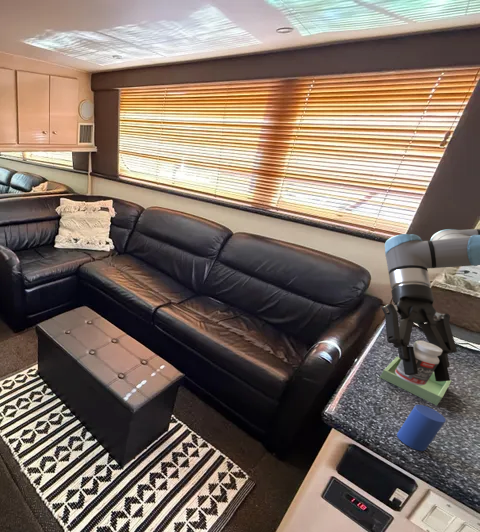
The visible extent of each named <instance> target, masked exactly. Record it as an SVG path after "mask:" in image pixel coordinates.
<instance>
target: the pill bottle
mask: <svg viewBox="0 0 480 532" xmlns="http://www.w3.org/2000/svg"><path fill="white" fill-rule="evenodd" d="M412 347H413V348H414V354H415V360H416V365H417V371H418V374H414V375H405V372H404V366H403V360H401V362H400V363H399V365H398V367H397V368H396V370H395V373H396V374H397V376H399V377H400V378H401V379H403V380H405V381H407V382H409V383H412V384H415V385H420V386H422V385H425V384H426V383H427V381H428V380H429V378H430V376H431V375H432V373H433V372H434V370H435V368H436V367H437V365H438V364H439V358H438V357H437V356H440V355H441V353H442V351H443V350H442V349H441V348H439V347H438V346H436V345H434V344H431V343H429V342H428V341H425V340H415V342H414V343H413V346H412Z"/></svg>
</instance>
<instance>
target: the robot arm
mask: <svg viewBox="0 0 480 532" xmlns="http://www.w3.org/2000/svg"><path fill="white" fill-rule="evenodd" d="M384 254H385V260H386V266H387V271H388V279H389V284H390V288H391V292H390V293H391V297H392V302H393V304H392V303H389V304H386V305H384V306H382V307H381V309H382V312H383V314H384V319H385V321H384V322H385V332H386V341H387V343H389V344H392V346H393V348H396V349H397V352H398V353H397V354H398V357H399V358H400V359H401V360H403V366H404V372H405V375H414V374H418V371H417V365H416V360H415V354H414V348H413V347H414V346H411V345H410V340H411V336H412V333H413V332H412V331H413V325H414V323H415V324H417V326H418V327H419V328H420V329H421V330H422V332H423V335H424V336H425V338H426V340H427V342H428V343H431V344H434V345H436V346H438V347H439V348H441V349H442V350H443V351H442V353H441V355H440V356H437V357H438V358H439V364H438V365H437V367H436V368H435V370H434V374H435V379H436V381H439V382H441V381H450V380H451V377H450V373H449V369H448V368H450V366H451V363H450V361H449V356H448V355H449V354H453V353H458V350H457V345H456V342H455V338H454V335H453V332H452V328H451V324H450V319H451V315H450V314H449V313H441V312H438V311H437V310H436V309H435V307H434V305H433V304H434V301H435V298H434V293H433V288H432V287H431V286H432V284H431V279H430V275H429V270H428V269H441V268H456V267H478V266H480V228H470V229H457V228H456V229H455V228H447V229H442V230H439V231H437V232H435V233H434V234H433V235H432V236H431V238H430V240H423V239H422V237H420V236H419V235H417V234H415V233H412V234H411V233H410V234H408V233H401V234H397V235H394V236H391V237H390V238H388V239H387V240H385V243H384ZM409 345H410V346H409Z"/></svg>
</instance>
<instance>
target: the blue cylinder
mask: <svg viewBox="0 0 480 532" xmlns="http://www.w3.org/2000/svg"><path fill="white" fill-rule="evenodd" d="M446 422H447V420H446V417H444V415H443V414H441V413H440V412H439V411H437V410H435V409H433V408H432V407H430V406H426V405H425V404H424V405H423V404H415V405H414V406H413V409H412V410H411V411H410V413H409V415H408V416H407V417H406V418H405V420H404V422H403V423H402V425H401V426H400V428H399V430H398V431H397V433H396V436H397V439H399V440H400V441H401V442H402V443H403V444H404V445H406V446H407V447H409V448H411V449H413V450H415V451H419V452H425V451H426V450H427V448H428V447H429V446H430V444H431V443H432V441H433V440H434V439H435V437H436V436H437V435H438V433H439V432H440V430H441V429H442V427H443V426H444V424H445V423H446Z"/></svg>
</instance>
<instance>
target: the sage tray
mask: <svg viewBox="0 0 480 532" xmlns="http://www.w3.org/2000/svg"><path fill="white" fill-rule="evenodd" d="M400 362H401V359H400V358H399V356H396V357H395V358H394V359H393V360H392V361H391V362H390V363H389V364H388V365H387V366H386V367H385V368H384V369H383V370H382V372H381V374H380V376H379V378H380V379H382V380H384V381H386V382H388V383H390V384H392V385H394V386H396V387H398V388H400V389H402V390H403V391H406V392H409V394H412V395H415V396H416V397H418V398H420V399H422V400H425V401H426V402H428V403H430V404H433V405H434V406H438V405H439V404H440V402H441V401H442V399H443V397H444V396H445V394H446V393H447V390H448V388H449V387H450V385H451V383H452V381H453V380H452V379H450V381H441V382H439V381H436V379H435V374H434V372H433V373H432V375H431V376H430V378H429V380H428V381H427V383H426V384H425V385H422V386H420V385H415V384H412V383H409V382H407V381H405V380H403V379H401V378H400V377H399V376H397V374H396V373H395V370H396V368H397V367H398V365H399V363H400Z"/></svg>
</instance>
